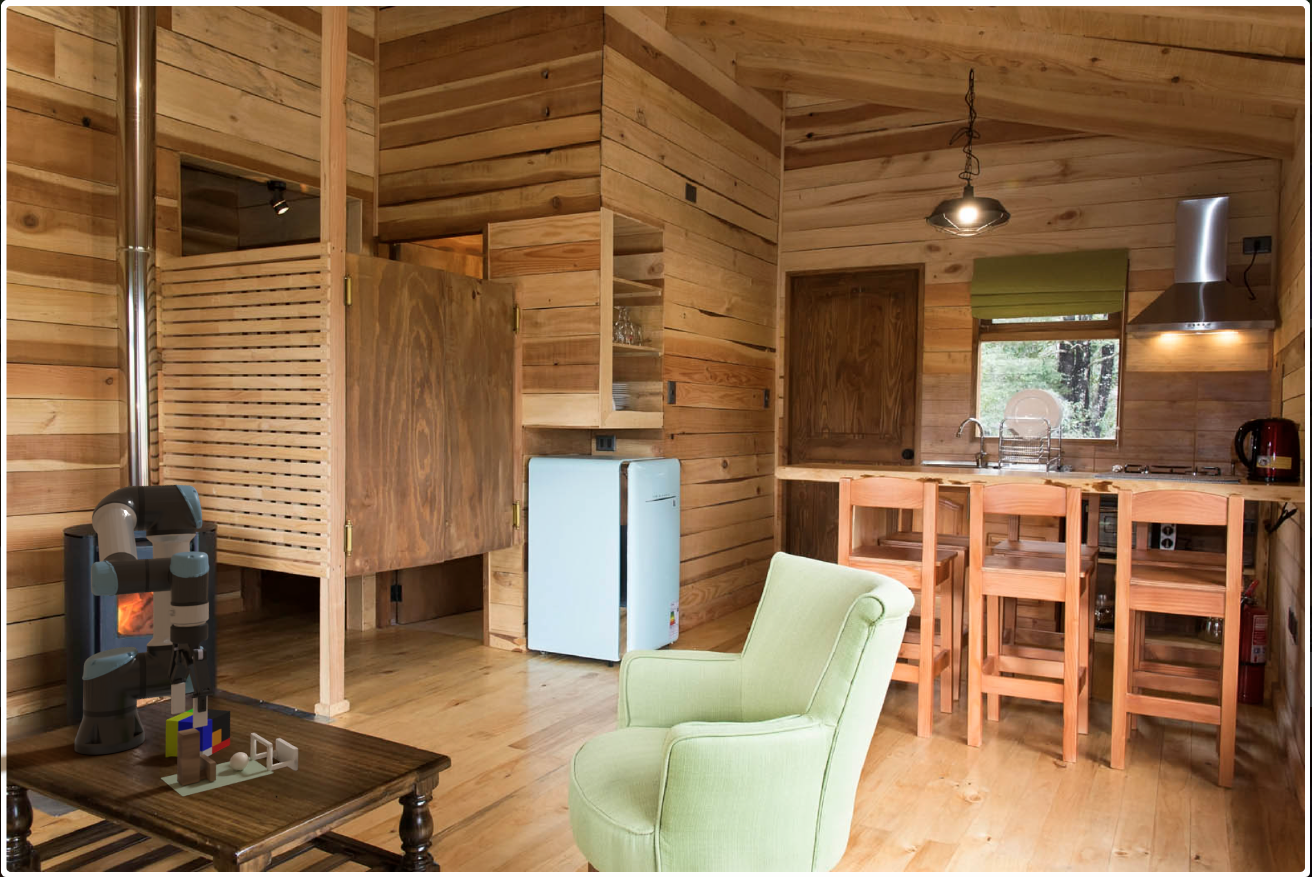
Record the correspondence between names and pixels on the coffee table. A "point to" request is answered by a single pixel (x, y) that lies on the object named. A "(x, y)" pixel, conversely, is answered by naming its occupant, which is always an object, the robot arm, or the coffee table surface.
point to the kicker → (192, 759)
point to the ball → (239, 761)
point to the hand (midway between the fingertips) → (188, 719)
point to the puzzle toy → (210, 735)
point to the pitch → (253, 770)
